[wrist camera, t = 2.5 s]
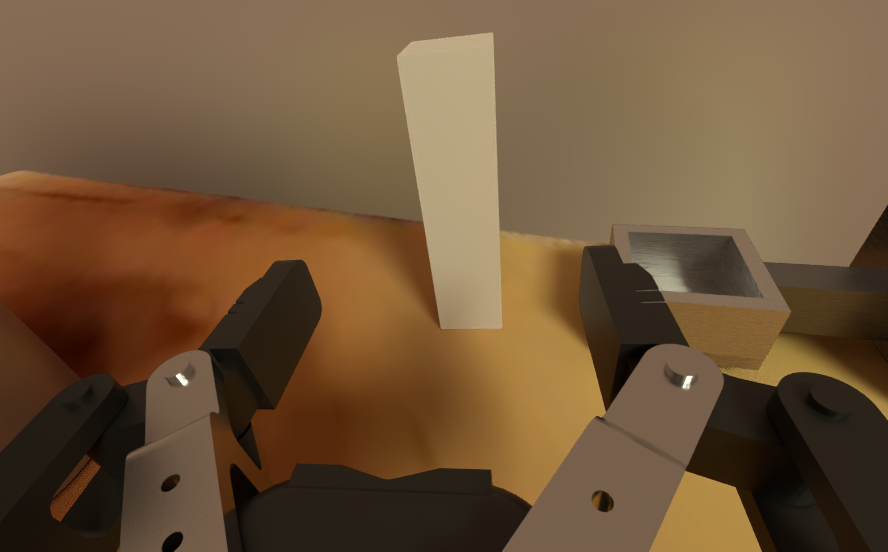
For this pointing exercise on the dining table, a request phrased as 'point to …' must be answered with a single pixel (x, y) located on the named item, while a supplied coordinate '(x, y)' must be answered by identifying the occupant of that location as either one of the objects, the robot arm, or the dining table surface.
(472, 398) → the dining table surface
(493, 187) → the rail post
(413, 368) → the dining table surface
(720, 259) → the cup bracket
